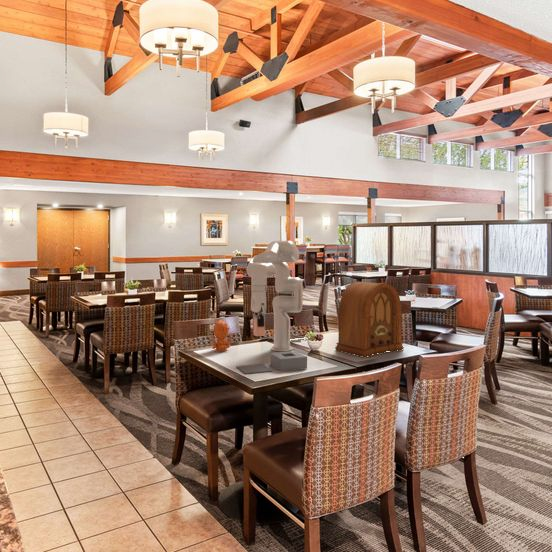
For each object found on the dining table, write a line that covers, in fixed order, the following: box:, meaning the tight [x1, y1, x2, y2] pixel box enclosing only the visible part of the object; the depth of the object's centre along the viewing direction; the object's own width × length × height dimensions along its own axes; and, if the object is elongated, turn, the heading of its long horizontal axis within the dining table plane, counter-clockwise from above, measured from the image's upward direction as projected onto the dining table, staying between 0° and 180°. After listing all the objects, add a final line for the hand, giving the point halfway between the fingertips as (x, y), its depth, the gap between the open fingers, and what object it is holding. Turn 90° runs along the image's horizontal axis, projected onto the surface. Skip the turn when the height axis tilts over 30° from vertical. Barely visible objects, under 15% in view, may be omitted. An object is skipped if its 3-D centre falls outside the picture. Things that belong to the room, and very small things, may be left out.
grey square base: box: [270, 350, 308, 372], centre depth 241 cm, size 14×14×6 cm
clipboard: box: [263, 333, 305, 343], centre depth 314 cm, size 19×2×30 cm
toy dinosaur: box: [211, 319, 232, 352], centre depth 277 cm, size 11×11×18 cm
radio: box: [334, 281, 405, 358], centre depth 278 cm, size 33×23×40 cm
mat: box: [236, 363, 273, 375], centre depth 235 cm, size 14×14×1 cm
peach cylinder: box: [252, 314, 266, 337], centre depth 234 cm, size 5×5×10 cm
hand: (259, 325), depth 234 cm, fingers closed on peach cylinder, 4 cm apart
